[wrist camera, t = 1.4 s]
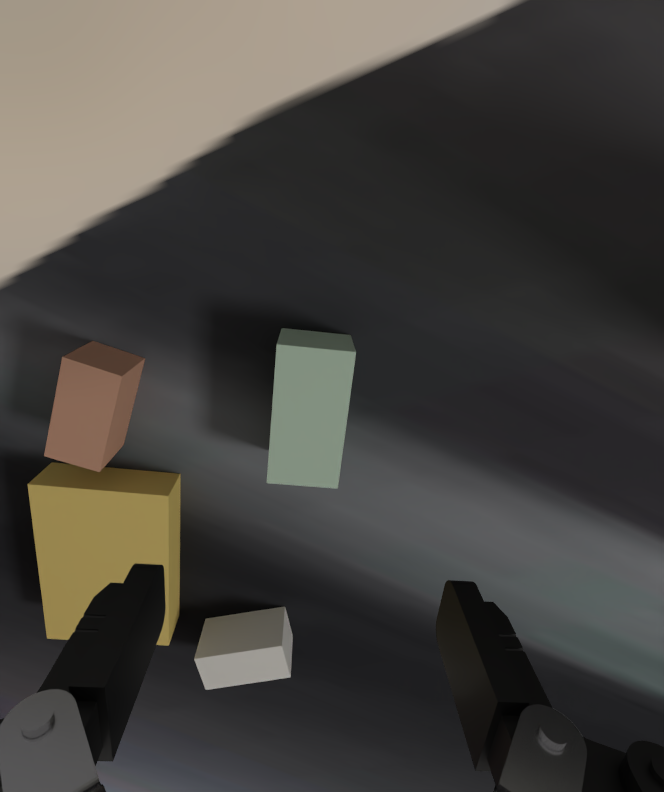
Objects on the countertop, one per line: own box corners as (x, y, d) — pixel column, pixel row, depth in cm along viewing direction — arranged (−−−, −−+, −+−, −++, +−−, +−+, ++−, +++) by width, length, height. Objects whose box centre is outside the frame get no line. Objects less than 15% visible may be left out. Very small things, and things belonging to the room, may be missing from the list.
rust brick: (94, 340, 26) (62, 356, 23) (145, 357, 27) (122, 376, 23) (75, 428, 28) (44, 456, 25) (124, 443, 29) (99, 472, 25)
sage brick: (350, 334, 27) (356, 352, 23) (334, 455, 29) (337, 488, 26) (282, 327, 26) (276, 344, 23) (272, 449, 29) (266, 483, 25)
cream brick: (285, 604, 34) (281, 645, 30) (292, 634, 35) (290, 677, 31) (205, 617, 34) (194, 658, 31) (216, 646, 35) (205, 689, 32)
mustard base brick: (182, 470, 30) (168, 496, 27) (180, 610, 34) (168, 645, 31) (55, 459, 29) (27, 484, 26) (69, 603, 33) (47, 638, 30)
